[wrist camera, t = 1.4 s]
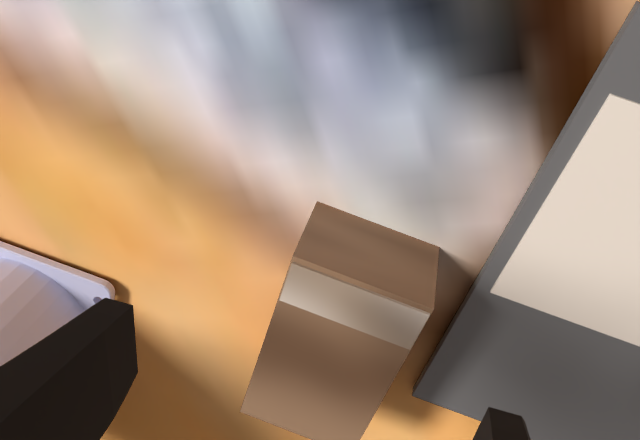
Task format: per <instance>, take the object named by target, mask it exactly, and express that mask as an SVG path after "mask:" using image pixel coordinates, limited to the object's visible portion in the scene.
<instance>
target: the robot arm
mask: <svg viewBox="0 0 640 440" xmlns="http://www.w3.org/2000/svg"><path fill="white" fill-rule="evenodd" d="M101 298H102V299H101ZM114 299H115V289H114V287H113V285H112V284H111V283H110V282H109V281H107V280H105V279H102V278H99V277H97V276H94V275H91V274H89V273H86V272H83V271H80V270H78V269H75V268H72V267H70V266H67V265H64V264H61V263H59V262H56V261H53V260H51V259H48V258H45V257H43V256H40V255H37V254H34V253H32V252H29V251H26V250H24V249H21V248H18V247H15V246H13V245H10V244H7V243H5V242H2V241H0V440H100V438H101V437H102V435H103V434H104V432H105V431H106V429H107V428H108V426H109V425H110V423H111V422H112V420H113V419H114V417H115V415H116V414H117V412H118V410H119V408H120V406H121V404H122V402H123V400H124V399H125V397H126V395H127V393H128V391H129V389H130V387H131V385H132V383H133V381H134V379H135V377H136V375H137V373H138V368H137V354H136V341H135V327H134V314H133V305H130V304H126V303H123V302H119V301H116V300H114ZM473 440H531V439H530V436H529V433H528V430H527V426H526V423H525V421H524V419H523V418H522V416H520V415H516V414H513V413H509V412H506V411H502V410H499V409H495V408H492V407H488V409H487V411H486V413H485V415H484V417H483V419H482V421H481V423H480V425H479V427H478V430H477V432H476V434H475V436H474V438H473Z"/></svg>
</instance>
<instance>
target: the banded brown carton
mask: <svg viewBox="0 0 640 440" xmlns="http://www.w3.org/2000/svg"><path fill="white" fill-rule="evenodd" d="M439 248H440V247H438V246H435V245H432V244H430V243H427V242H424V241H422V240H419V239H416V238H414V237H411V236H408V235H405V234H403V233H400V232H397V231H395V230H392V229H389V228H387V227H384V226H381V225H379V224H376V223H373V222H371V221H368V220H365V219H363V218H360V217H357V216H355V215H352V214H349V213H347V212H344V211H341V210H339V209H336V208H333V207H331V206H328V205H325V204H323V203H320V202H317V203H316V205H315V207H314V209H313V212H312V214H311V216H310V218H309V221H308V223H307V225H306V227H305V230H304V232H303V234H302V236H301V239H300V241H299V243H298V245H297V247H296V250H295V252H294V254H293V257H292V260H291V263H290V266H289V268H288V271H287V274H286V277H285V280H284V283H283V286H282V289H281V292H280V295H279V298H278V301H277V304H276V307H275V310H274V313H273V316H272V319H271V322H270V325H269V328H268V330H267V333H266V336H265V339H264V342H263V345H262V348H261V351H260V354H259V357H258V360H257V363H256V366H255V369H254V372H253V375H252V378H251V381H250V384H249V387H248V390H247V393H246V395H245V398H244V401H243V404H242V407H241V410H240V412H242V413H244V414H247V415H249V416H252V417H255V418H257V419H260V420H262V421H265V422H267V423H270V424H273V425H275V426H278V427H280V428H283V429H286V430H288V431H291V432H293V433H296V434H299V435H301V436H304V437H306V438H309V439H311V440H360V439H361V437H362V435H363V434H364V432H365V430H366V428H367V427H368V425H369V423H370V421H371V420H372V418H373V416H374V414H375V412H376V411H377V409H378V407H379V405H380V404H381V402H382V400H383V398H384V397H385V395H386V393H387V391H388V390H389V388H390V386H391V384H392V383H393V381H394V379H395V377H396V375H397V374H398V372H399V370H400V368H401V367H402V365H403V363H404V361H405V360H406V358H407V356H408V354H409V353H410V351H411V349H412V347H413V346H414V344H415V342H416V340H417V338H418V337H419V335H420V333H421V331H422V330H423V328H424V326H425V324H426V323H427V321H428V319H429V317H430V316H431V314H432V312H433V310H434V304H435V293H436V282H437V271H438V259H439Z"/></svg>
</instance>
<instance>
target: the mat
mask: <svg viewBox="0 0 640 440" xmlns="http://www.w3.org/2000/svg"><path fill="white" fill-rule="evenodd" d="M412 396H414V397H417V398H419V399H422V400H425V401H428V402H430V403H433V404H436V405H438V406H441V407H444V408H447V409H449V410H452V411H455V412H457V413H460V414H463V415H465V416H468V417H471V418H474V419H476V420H479V421H482V419H483V417H484V415H485V413H486V411H487V409H488V407H492V408H495V409H499V410H502V411H506V412H509V413H513V414H516V415H520V416H522V418H523V419H524V421H525V423H526V426H527V430H528V433H529V436H530V439H531V440H640V2H639V1H636V3H635V4H634V6H633V8H632V10H631V11H630V13H629V15H628V17H627V18H626V20H625V22H624V24H623V25H622V27H621V29H620V30H619V32H618V34H617V36H616V37H615V39H614V41H613V43H612V44H611V46H610V48H609V50H608V51H607V53H606V55H605V56H604V58H603V60H602V62H601V63H600V65H599V67H598V69H597V70H596V72H595V74H594V76H593V77H592V79H591V81H590V82H589V84H588V86H587V88H586V89H585V91H584V93H583V95H582V96H581V98H580V100H579V102H578V103H577V105H576V107H575V108H574V110H573V112H572V114H571V115H570V117H569V119H568V121H567V122H566V124H565V126H564V128H563V129H562V131H561V133H560V134H559V136H558V138H557V140H556V141H555V143H554V145H553V147H552V148H551V150H550V152H549V154H548V155H547V157H546V159H545V160H544V162H543V164H542V166H541V167H540V169H539V171H538V173H537V174H536V176H535V178H534V180H533V181H532V183H531V185H530V186H529V188H528V190H527V192H526V193H525V195H524V197H523V199H522V200H521V202H520V204H519V206H518V207H517V209H516V211H515V212H514V214H513V216H512V218H511V219H510V221H509V223H508V225H507V226H506V228H505V230H504V232H503V233H502V235H501V237H500V238H499V240H498V242H497V244H496V245H495V247H494V249H493V251H492V252H491V254H490V256H489V258H488V259H487V261H486V263H485V264H484V266H483V268H482V270H481V271H480V273H479V275H478V277H477V278H476V280H475V282H474V283H473V285H472V287H471V289H470V290H469V292H468V294H467V296H466V297H465V299H464V301H463V303H462V304H461V306H460V308H459V309H458V311H457V313H456V315H455V316H454V318H453V320H452V322H451V323H450V325H449V327H448V329H447V330H446V332H445V334H444V335H443V337H442V339H441V341H440V342H439V344H438V346H437V348H436V349H435V351H434V353H433V355H432V356H431V358H430V360H429V361H428V363H427V365H426V367H425V368H424V370H423V372H422V374H421V375H420V377H419V379H418V381H417V382H416V384H415V386H414V387H413V393H412Z"/></svg>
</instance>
